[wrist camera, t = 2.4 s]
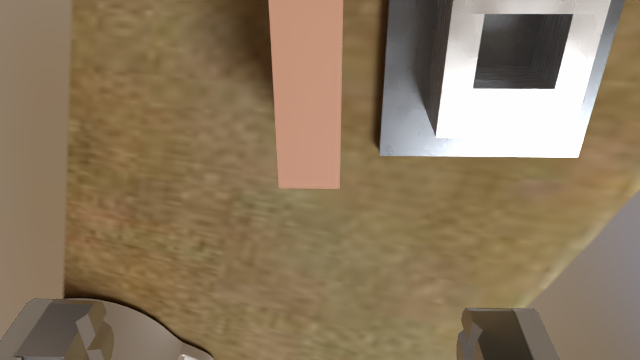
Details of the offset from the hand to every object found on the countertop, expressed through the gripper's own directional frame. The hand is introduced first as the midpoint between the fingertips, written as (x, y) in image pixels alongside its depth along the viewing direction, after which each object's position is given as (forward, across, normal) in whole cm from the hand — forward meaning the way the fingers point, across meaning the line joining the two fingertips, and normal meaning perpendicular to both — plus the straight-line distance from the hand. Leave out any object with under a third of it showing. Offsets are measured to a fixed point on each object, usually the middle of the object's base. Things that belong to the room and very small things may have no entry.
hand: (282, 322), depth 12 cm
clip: (+20, 0, 0) cm, 20 cm away
